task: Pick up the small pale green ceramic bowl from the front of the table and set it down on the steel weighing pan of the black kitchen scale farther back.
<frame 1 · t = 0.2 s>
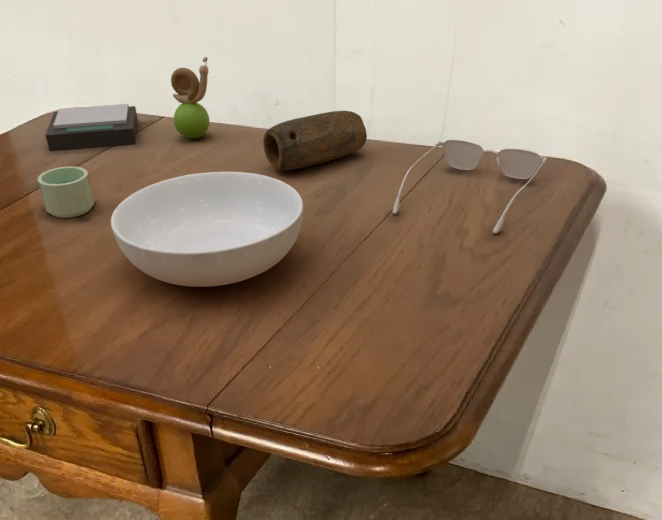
snail figurine: (197, 139, 121), on the table
scale: (95, 135, 123), on the table
dip bowl: (70, 208, 101), on the table
serving bowl: (214, 265, 88), on the table
eyeglasses: (467, 199, 101), on the table
hollow wooden cylinder: (317, 163, 112), on the table
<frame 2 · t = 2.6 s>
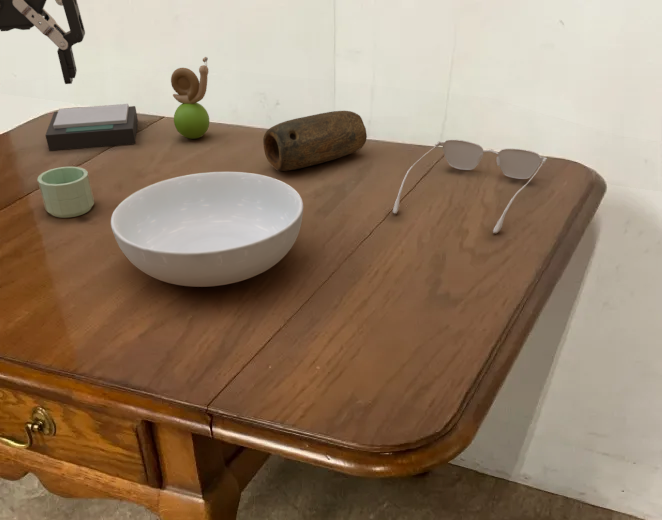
hand: (31, 85, 90), 16 cm above the table, tool pointing down, fingers open, 8 cm apart
nothing on the table moved.
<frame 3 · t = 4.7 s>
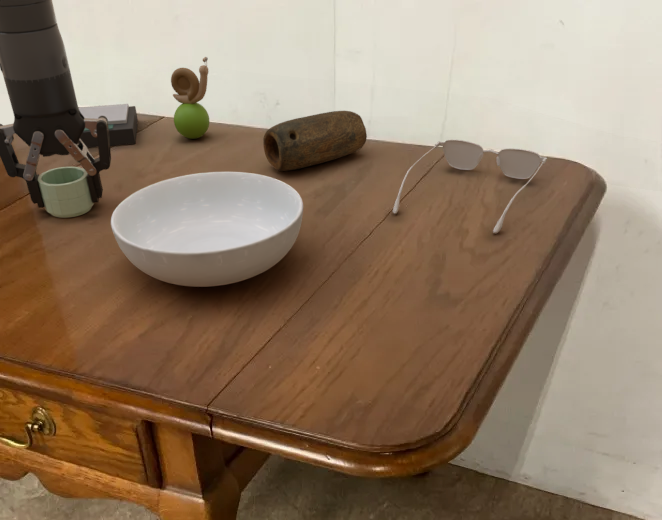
hand: (69, 202, 100), 1 cm above the table, tool pointing down, fingers closed on dip bowl, 6 cm apart
dip bowl: (70, 208, 101), on the table, touching gripper
everything else where it was.
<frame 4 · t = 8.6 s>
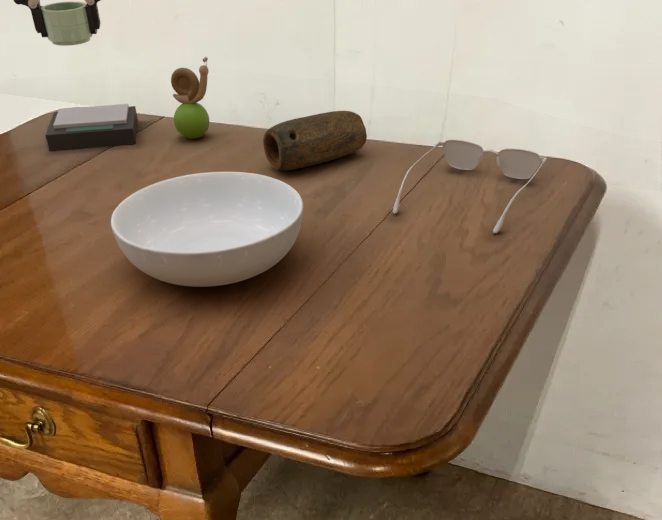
hand: (69, 34, 110), 16 cm above the table, tool pointing down, fingers closed on dip bowl, 6 cm apart
dip bowl: (71, 40, 111), point 15 cm above the table, touching gripper
everything else where it was.
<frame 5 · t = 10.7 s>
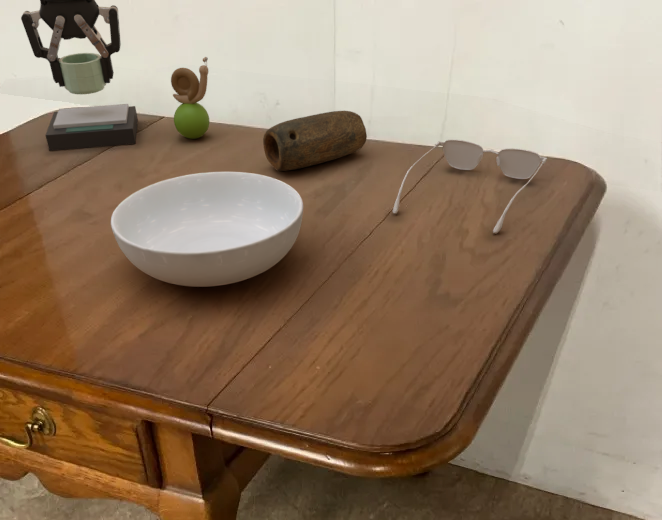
hand: (85, 83, 119), 8 cm above the table, tool pointing down, fingers closed on dip bowl, 6 cm apart
dip bowl: (86, 89, 119), point 7 cm above the table, touching gripper
everything else where it was.
when the fingers open (4 cm above the table, at t = 12.3 s): dip bowl stays where it is, resting on scale.
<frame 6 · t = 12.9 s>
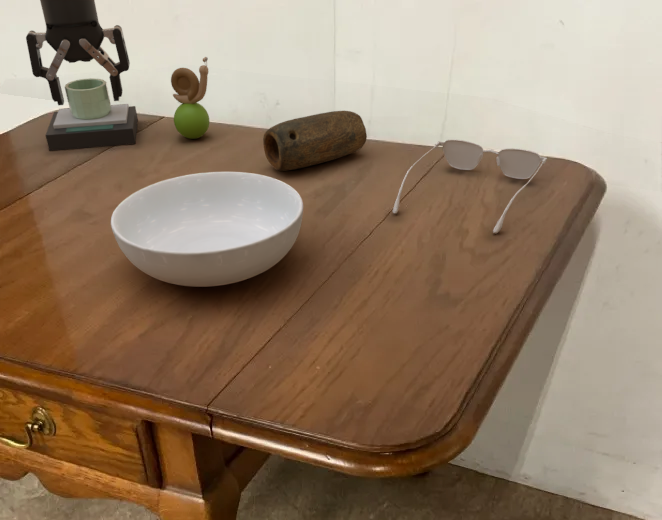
hand: (89, 101, 120), 5 cm above the table, tool pointing down, fingers open, 8 cm apart
dip bowl: (91, 113, 122), point 3 cm above the table, touching scale
everything else where it was.
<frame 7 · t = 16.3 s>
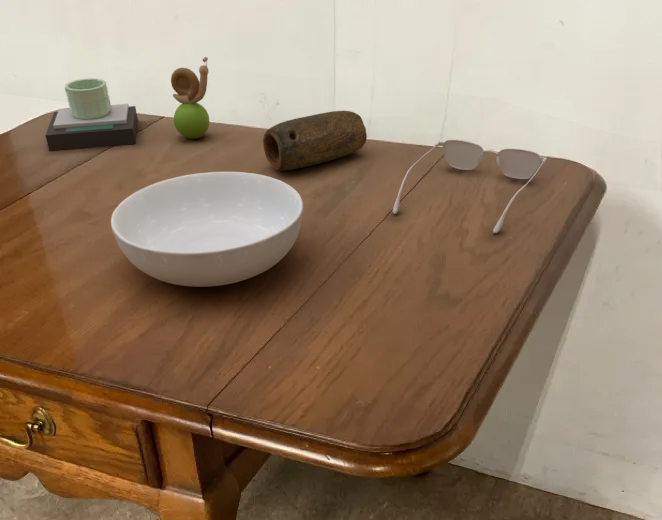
nothing on the table moved.
at the end: dip bowl inside the target area on the scale (0.1 cm from its centre), point 3.0 cm above the scale's base; dip bowl tilted 0° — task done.
